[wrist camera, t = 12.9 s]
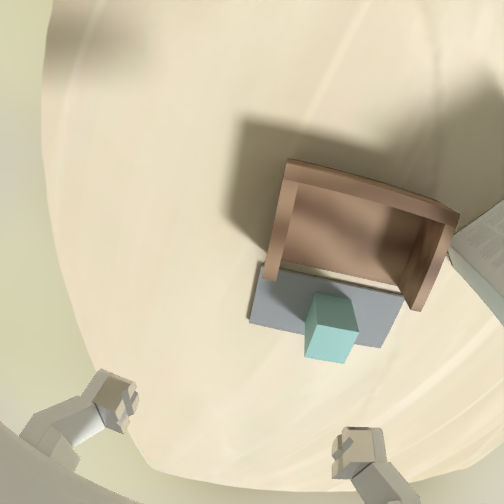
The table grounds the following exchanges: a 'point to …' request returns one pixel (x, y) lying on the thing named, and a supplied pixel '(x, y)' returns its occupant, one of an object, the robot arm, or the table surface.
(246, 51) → the table surface
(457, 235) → the skincare box
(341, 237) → the open-fronted box
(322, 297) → the teal block
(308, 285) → the grey mat
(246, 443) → the table surface
